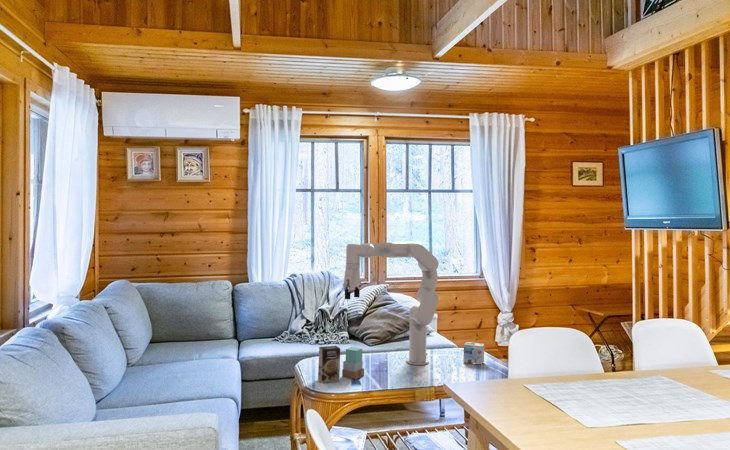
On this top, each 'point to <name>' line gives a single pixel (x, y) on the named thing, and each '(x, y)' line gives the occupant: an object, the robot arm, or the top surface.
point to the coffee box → (329, 364)
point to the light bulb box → (473, 353)
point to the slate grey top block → (352, 366)
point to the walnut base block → (353, 374)
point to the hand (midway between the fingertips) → (352, 298)
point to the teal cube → (354, 354)
